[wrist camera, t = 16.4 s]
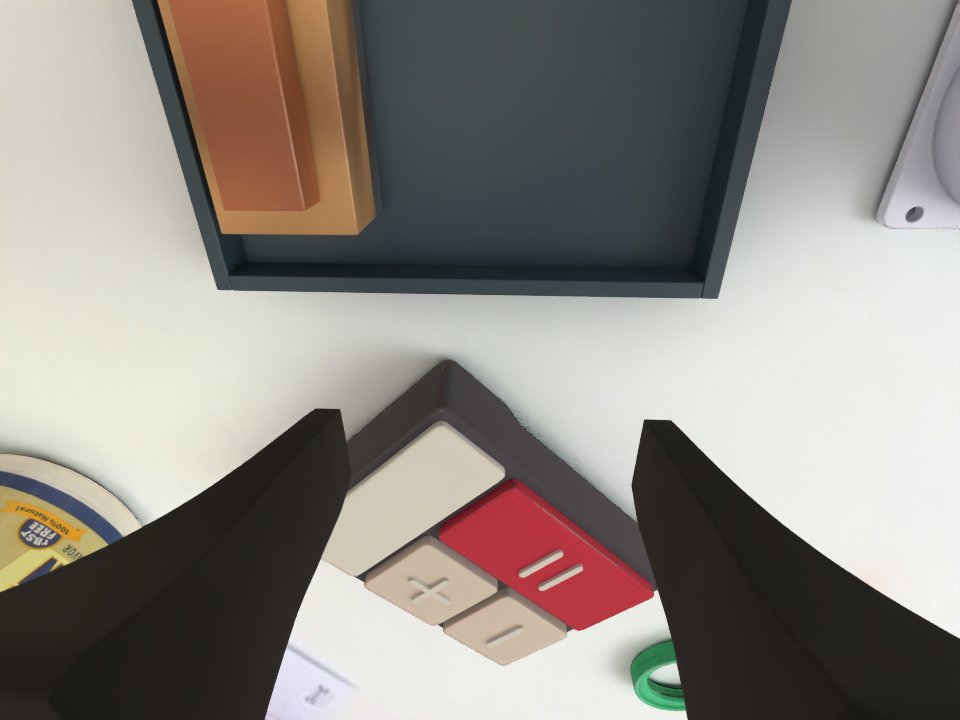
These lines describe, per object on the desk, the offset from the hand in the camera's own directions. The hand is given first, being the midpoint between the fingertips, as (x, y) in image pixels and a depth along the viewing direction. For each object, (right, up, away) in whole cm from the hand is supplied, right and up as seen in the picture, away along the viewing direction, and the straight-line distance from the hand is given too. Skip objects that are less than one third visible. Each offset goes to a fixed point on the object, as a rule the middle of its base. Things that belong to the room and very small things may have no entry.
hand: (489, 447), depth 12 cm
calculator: (0, -5, +14) cm, 15 cm away
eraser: (-6, +11, +4) cm, 13 cm away
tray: (-1, +11, +5) cm, 12 cm away
